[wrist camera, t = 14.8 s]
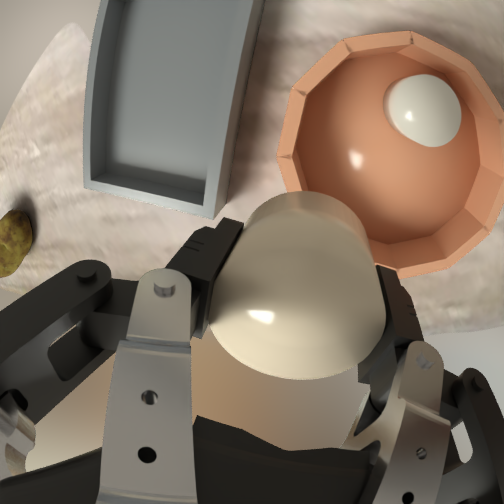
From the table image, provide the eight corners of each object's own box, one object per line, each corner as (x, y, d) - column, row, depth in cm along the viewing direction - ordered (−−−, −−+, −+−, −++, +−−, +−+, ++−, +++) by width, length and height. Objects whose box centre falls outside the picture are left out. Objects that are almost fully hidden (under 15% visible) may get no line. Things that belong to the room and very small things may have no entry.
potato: (50, 246, 35) (14, 275, 29) (22, 263, 40) (-6, 288, 33) (26, 198, 32) (-13, 222, 25) (2, 225, 37) (-28, 246, 30)
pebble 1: (255, 173, 10) (220, 220, 7) (389, 216, 10) (419, 282, 6) (231, 283, 13) (199, 353, 9) (339, 315, 12) (339, 391, 9)
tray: (125, -4, 17) (103, -10, 14) (267, -9, 16) (259, -24, 13) (104, 177, 28) (84, 188, 25) (225, 204, 26) (213, 219, 24)
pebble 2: (390, 67, 16) (405, 62, 13) (445, 93, 16) (468, 94, 13) (375, 124, 19) (387, 130, 16) (430, 147, 19) (450, 158, 15)
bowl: (312, 18, 17) (310, -1, 12) (500, 100, 15) (532, 106, 11) (267, 215, 26) (256, 241, 22) (438, 266, 25) (454, 297, 20)
